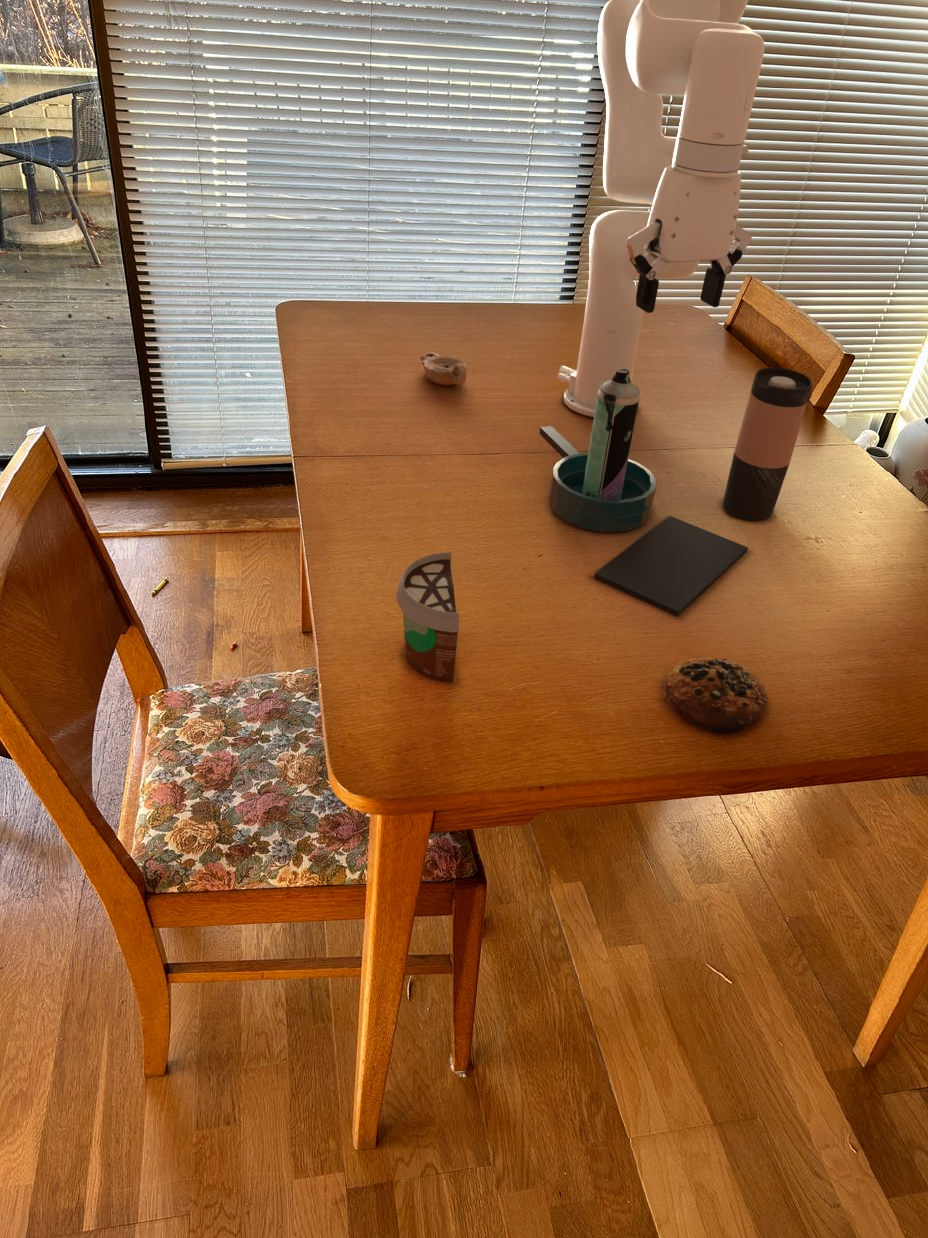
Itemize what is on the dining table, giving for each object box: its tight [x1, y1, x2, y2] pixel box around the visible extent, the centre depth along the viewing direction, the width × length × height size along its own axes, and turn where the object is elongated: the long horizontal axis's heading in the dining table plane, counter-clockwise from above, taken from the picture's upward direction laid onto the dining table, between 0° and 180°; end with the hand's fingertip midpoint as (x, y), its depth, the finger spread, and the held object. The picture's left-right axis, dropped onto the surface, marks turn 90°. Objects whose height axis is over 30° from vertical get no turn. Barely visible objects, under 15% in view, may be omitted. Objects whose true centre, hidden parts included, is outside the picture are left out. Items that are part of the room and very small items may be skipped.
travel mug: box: [722, 367, 813, 523], centre depth 129 cm, size 8×8×20 cm
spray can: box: [582, 369, 641, 500], centre depth 127 cm, size 6×6×20 cm
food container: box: [395, 552, 460, 683], centre depth 101 cm, size 12×6×10 cm, turn 5°
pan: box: [548, 452, 658, 533], centre depth 131 cm, size 14×14×5 cm
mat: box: [593, 515, 749, 618], centre depth 122 cm, size 12×20×1 cm, turn 142°
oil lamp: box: [419, 352, 468, 386], centre depth 164 cm, size 13×8×5 cm, turn 27°
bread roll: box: [662, 657, 769, 735], centre depth 100 cm, size 11×11×5 cm
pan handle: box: [538, 425, 581, 459], centre depth 140 cm, size 12×2×1 cm, turn 22°
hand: (677, 306), depth 117 cm, fingers open, 9 cm apart
